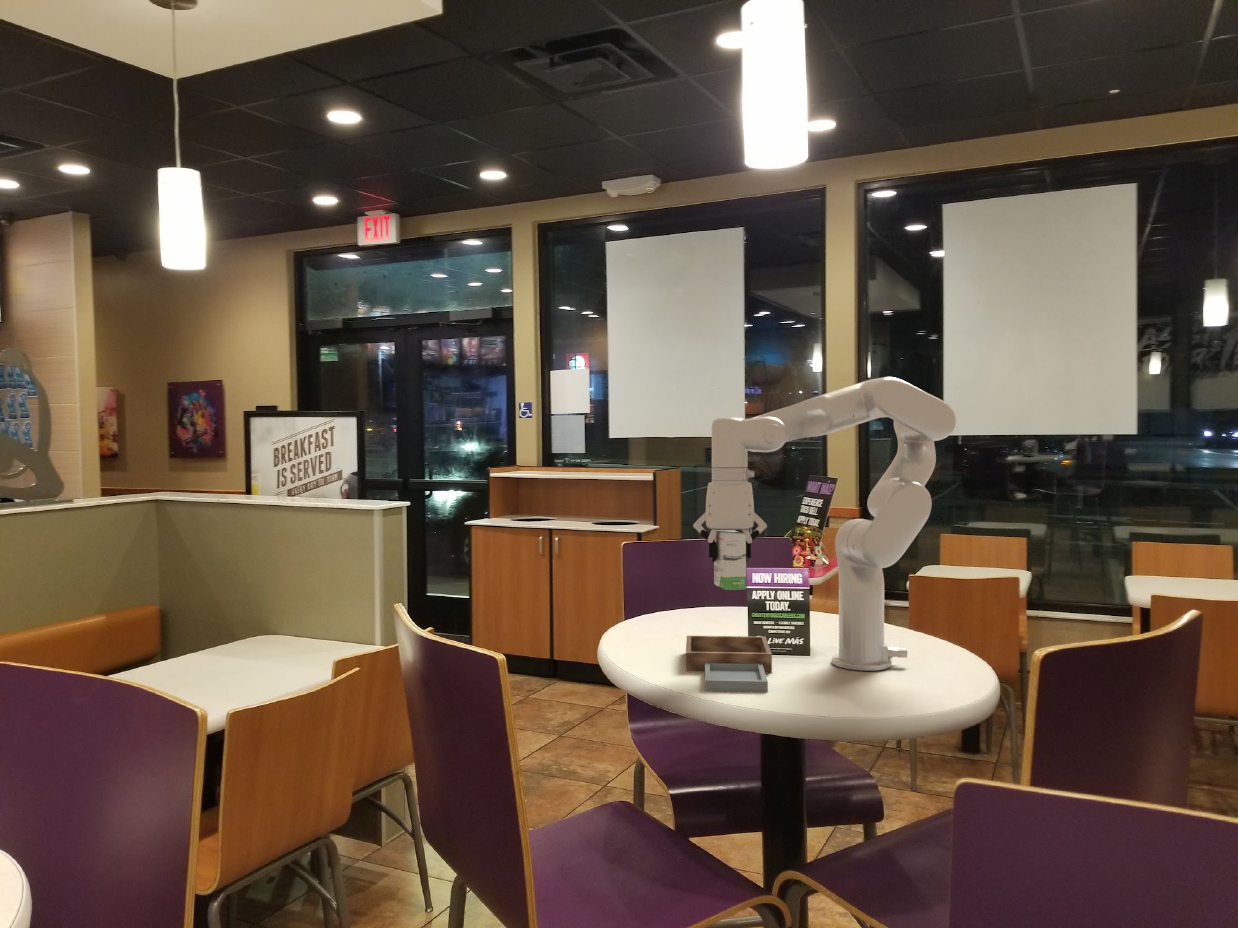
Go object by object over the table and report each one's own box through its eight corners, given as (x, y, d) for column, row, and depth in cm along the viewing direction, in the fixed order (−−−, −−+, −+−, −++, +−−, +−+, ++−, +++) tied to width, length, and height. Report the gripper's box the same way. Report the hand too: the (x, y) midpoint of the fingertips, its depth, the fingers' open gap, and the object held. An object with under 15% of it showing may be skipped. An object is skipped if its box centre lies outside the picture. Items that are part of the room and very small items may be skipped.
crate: (765, 653, 201) (765, 636, 200) (771, 672, 184) (771, 653, 184) (686, 652, 202) (686, 635, 202) (685, 671, 185) (685, 652, 185)
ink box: (747, 589, 181) (747, 533, 181) (724, 590, 180) (724, 533, 180) (735, 583, 190) (735, 529, 189) (713, 584, 189) (713, 529, 189)
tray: (762, 673, 183) (762, 663, 183) (767, 691, 169) (767, 681, 169) (704, 672, 184) (704, 662, 184) (705, 690, 170) (705, 680, 170)
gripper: (770, 475, 187) (770, 559, 187) (689, 475, 189) (690, 558, 190) (771, 476, 180) (771, 564, 180) (687, 476, 182) (688, 563, 182)
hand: (729, 560), depth 185 cm, fingers closed on ink box, 6 cm apart
